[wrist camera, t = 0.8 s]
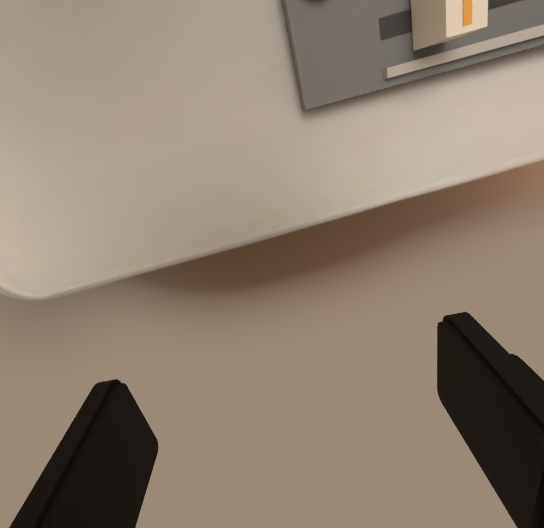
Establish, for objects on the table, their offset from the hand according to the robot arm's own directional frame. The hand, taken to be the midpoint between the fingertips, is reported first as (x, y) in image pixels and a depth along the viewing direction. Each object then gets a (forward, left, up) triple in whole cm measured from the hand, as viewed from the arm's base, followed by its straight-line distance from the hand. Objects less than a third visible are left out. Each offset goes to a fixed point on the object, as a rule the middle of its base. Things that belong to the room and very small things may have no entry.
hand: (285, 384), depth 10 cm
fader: (-10, +15, -22) cm, 28 cm away
